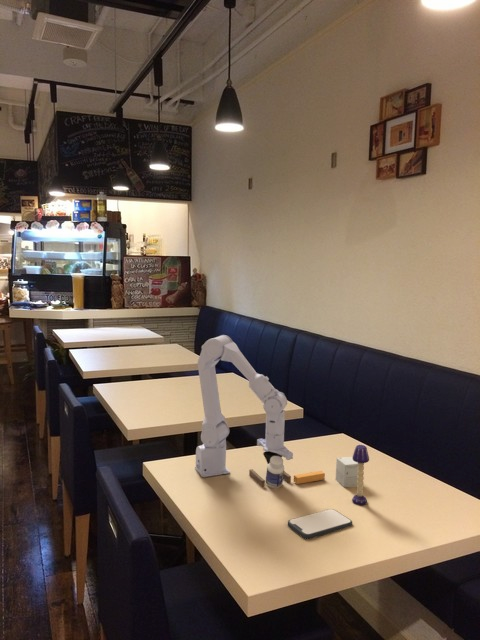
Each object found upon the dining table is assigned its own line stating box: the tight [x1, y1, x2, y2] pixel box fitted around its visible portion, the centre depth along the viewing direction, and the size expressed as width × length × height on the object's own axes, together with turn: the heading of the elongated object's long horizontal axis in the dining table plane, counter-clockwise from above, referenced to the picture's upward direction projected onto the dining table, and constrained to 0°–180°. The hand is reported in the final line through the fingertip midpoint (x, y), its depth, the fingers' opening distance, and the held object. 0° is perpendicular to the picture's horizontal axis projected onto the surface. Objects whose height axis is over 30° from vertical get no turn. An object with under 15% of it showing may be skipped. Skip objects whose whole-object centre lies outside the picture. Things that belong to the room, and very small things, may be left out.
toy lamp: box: [351, 444, 370, 506], centre depth 147 cm, size 5×5×17 cm
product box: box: [335, 456, 358, 488], centre depth 160 cm, size 6×6×7 cm
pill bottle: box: [265, 456, 285, 489], centre depth 156 cm, size 5×5×9 cm
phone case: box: [287, 508, 353, 540], centre depth 134 cm, size 9×2×16 cm
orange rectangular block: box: [293, 470, 326, 485], centre depth 161 cm, size 10×2×2 cm, turn 114°
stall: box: [248, 468, 292, 488], centre depth 162 cm, size 10×9×2 cm
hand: (273, 474), depth 160 cm, fingers closed, pressing on pill bottle
